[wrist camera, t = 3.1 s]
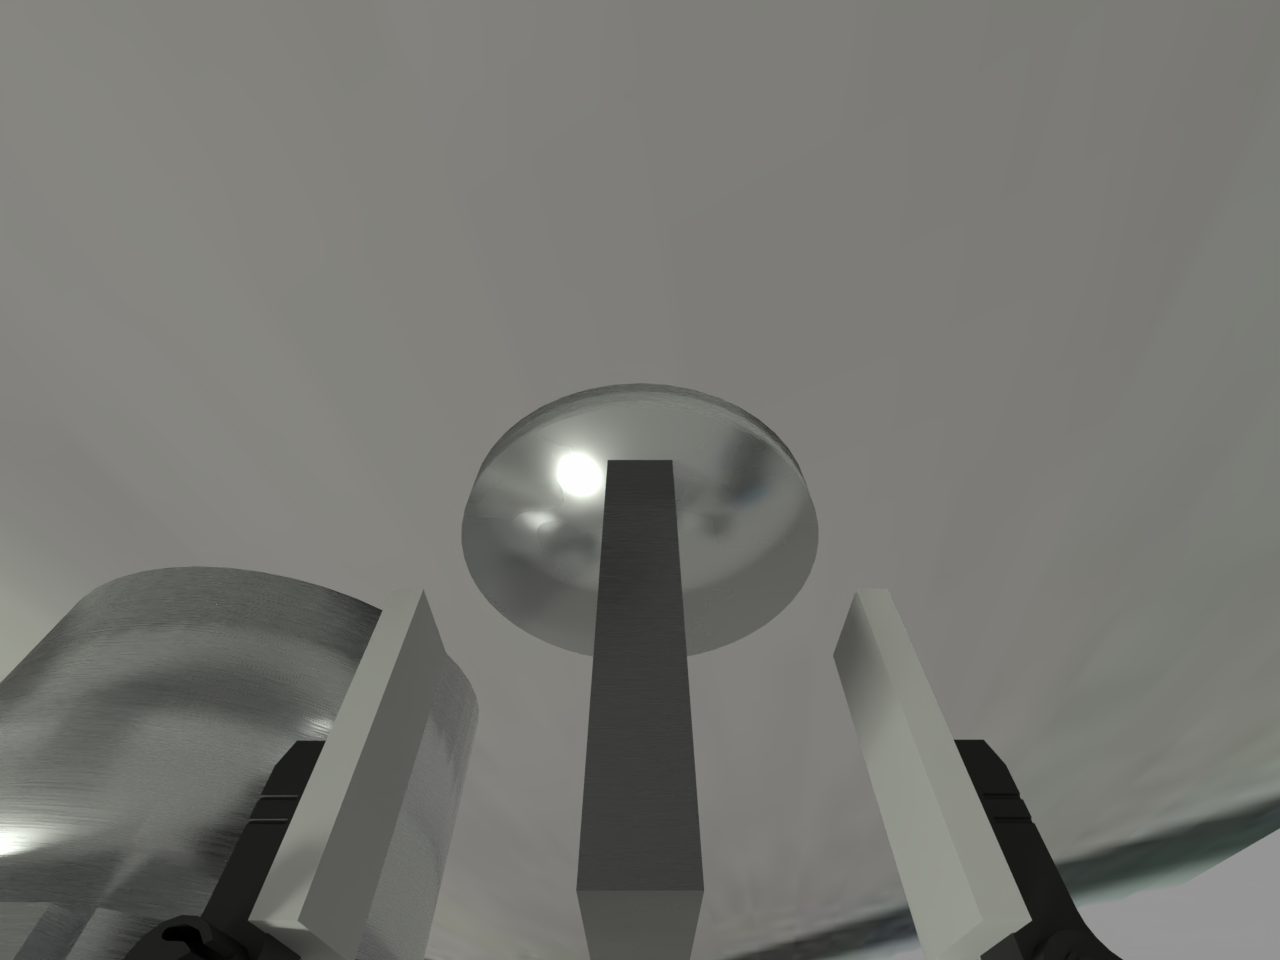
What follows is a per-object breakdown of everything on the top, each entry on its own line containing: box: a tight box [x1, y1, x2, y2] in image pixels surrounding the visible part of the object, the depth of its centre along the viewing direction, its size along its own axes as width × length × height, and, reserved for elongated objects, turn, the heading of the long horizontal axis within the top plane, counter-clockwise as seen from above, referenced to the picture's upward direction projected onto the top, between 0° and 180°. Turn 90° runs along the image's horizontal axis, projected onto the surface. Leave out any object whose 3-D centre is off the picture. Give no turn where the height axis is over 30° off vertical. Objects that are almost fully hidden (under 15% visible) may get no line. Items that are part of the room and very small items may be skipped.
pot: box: [0, 566, 479, 960], centre depth 20 cm, size 16×22×11 cm
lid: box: [461, 383, 819, 960], centre depth 13 cm, size 10×10×10 cm
